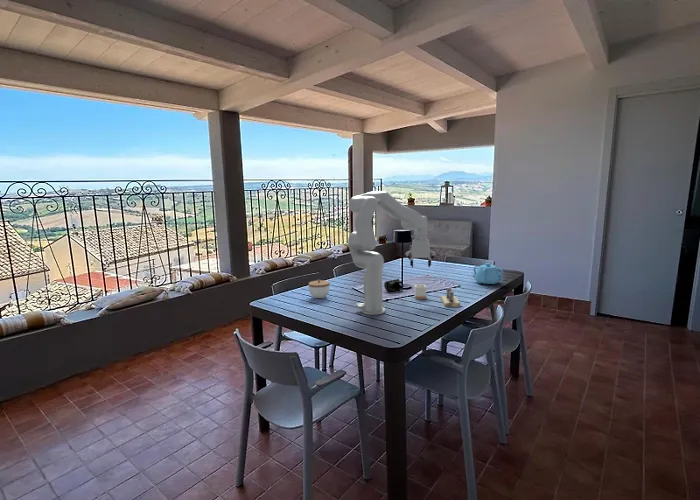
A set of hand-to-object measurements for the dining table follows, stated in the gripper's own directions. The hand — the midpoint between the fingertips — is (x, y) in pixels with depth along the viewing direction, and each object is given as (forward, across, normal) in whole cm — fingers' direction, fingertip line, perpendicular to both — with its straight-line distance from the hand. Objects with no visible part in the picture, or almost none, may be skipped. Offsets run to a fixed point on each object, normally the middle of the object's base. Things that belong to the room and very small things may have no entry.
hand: (420, 266), depth 211 cm
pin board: (+18, +15, -11) cm, 26 cm away
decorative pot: (+19, +47, +34) cm, 61 cm away
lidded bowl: (+18, -60, +1) cm, 63 cm away
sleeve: (+18, 0, 0) cm, 18 cm away
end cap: (+19, -15, +16) cm, 29 cm away
